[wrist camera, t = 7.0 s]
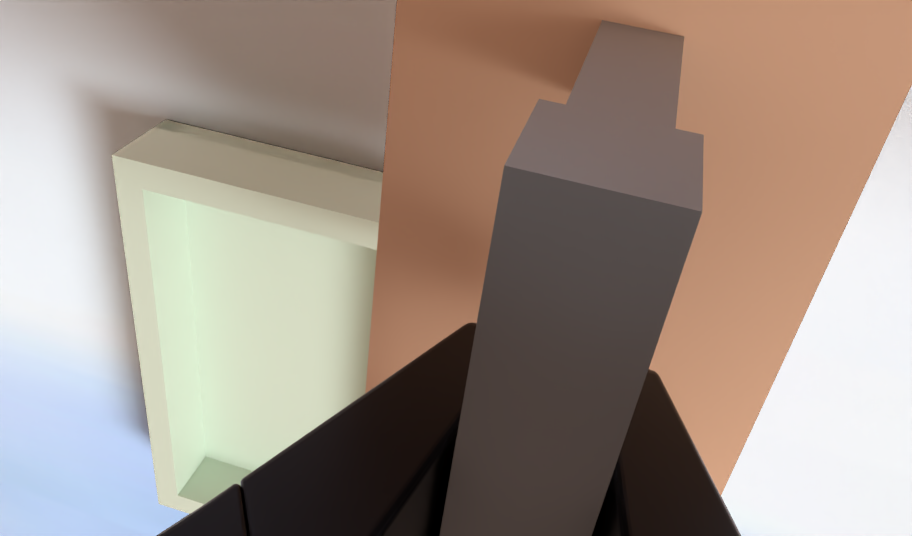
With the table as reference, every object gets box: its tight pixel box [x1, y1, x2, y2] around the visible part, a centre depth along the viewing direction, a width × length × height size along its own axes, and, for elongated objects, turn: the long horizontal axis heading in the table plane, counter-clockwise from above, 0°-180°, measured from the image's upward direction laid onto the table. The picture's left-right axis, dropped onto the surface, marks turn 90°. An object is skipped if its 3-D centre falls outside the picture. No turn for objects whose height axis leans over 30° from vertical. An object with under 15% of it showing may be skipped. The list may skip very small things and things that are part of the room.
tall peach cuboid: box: [365, 0, 912, 536], centre depth 10 cm, size 5×10×9 cm, turn 172°
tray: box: [112, 120, 383, 514], centre depth 25 cm, size 9×14×2 cm, turn 172°
